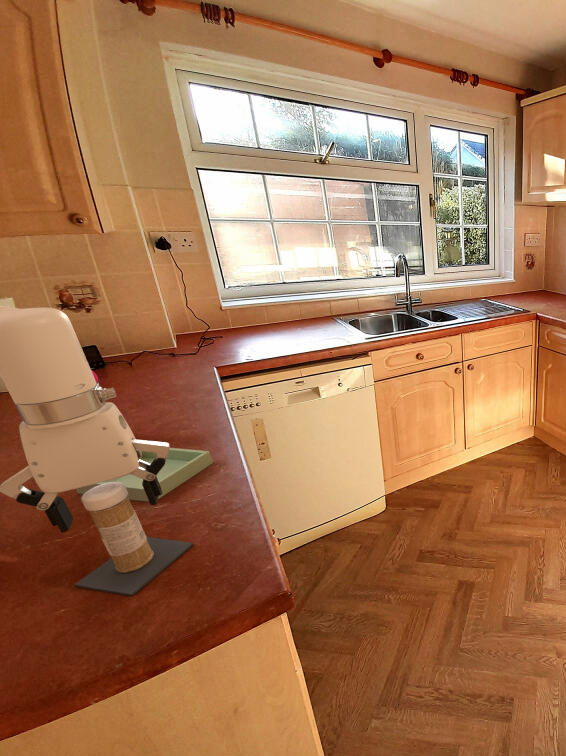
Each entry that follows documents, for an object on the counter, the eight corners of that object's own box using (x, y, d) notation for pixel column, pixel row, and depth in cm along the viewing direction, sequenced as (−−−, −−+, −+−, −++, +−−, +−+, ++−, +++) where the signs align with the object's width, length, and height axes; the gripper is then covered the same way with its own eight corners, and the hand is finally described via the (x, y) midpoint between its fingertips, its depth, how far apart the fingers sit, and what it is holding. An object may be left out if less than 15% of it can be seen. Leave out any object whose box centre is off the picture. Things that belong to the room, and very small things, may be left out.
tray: (77, 493, 82) (71, 480, 81) (145, 456, 94) (141, 444, 93) (153, 502, 79) (148, 489, 78) (213, 462, 91) (209, 451, 90)
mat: (75, 586, 61) (74, 584, 61) (142, 537, 70) (141, 536, 70) (132, 596, 59) (131, 594, 59) (193, 544, 68) (193, 542, 68)
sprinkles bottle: (125, 555, 66) (91, 484, 61) (160, 548, 67) (129, 477, 62) (110, 578, 62) (72, 503, 57) (147, 569, 63) (113, 495, 58)
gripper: (150, 381, 62) (187, 479, 68) (-25, 413, 53) (36, 522, 59) (146, 398, 56) (186, 503, 63) (-52, 436, 47) (19, 555, 54)
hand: (113, 512), depth 61 cm, fingers open, 9 cm apart
